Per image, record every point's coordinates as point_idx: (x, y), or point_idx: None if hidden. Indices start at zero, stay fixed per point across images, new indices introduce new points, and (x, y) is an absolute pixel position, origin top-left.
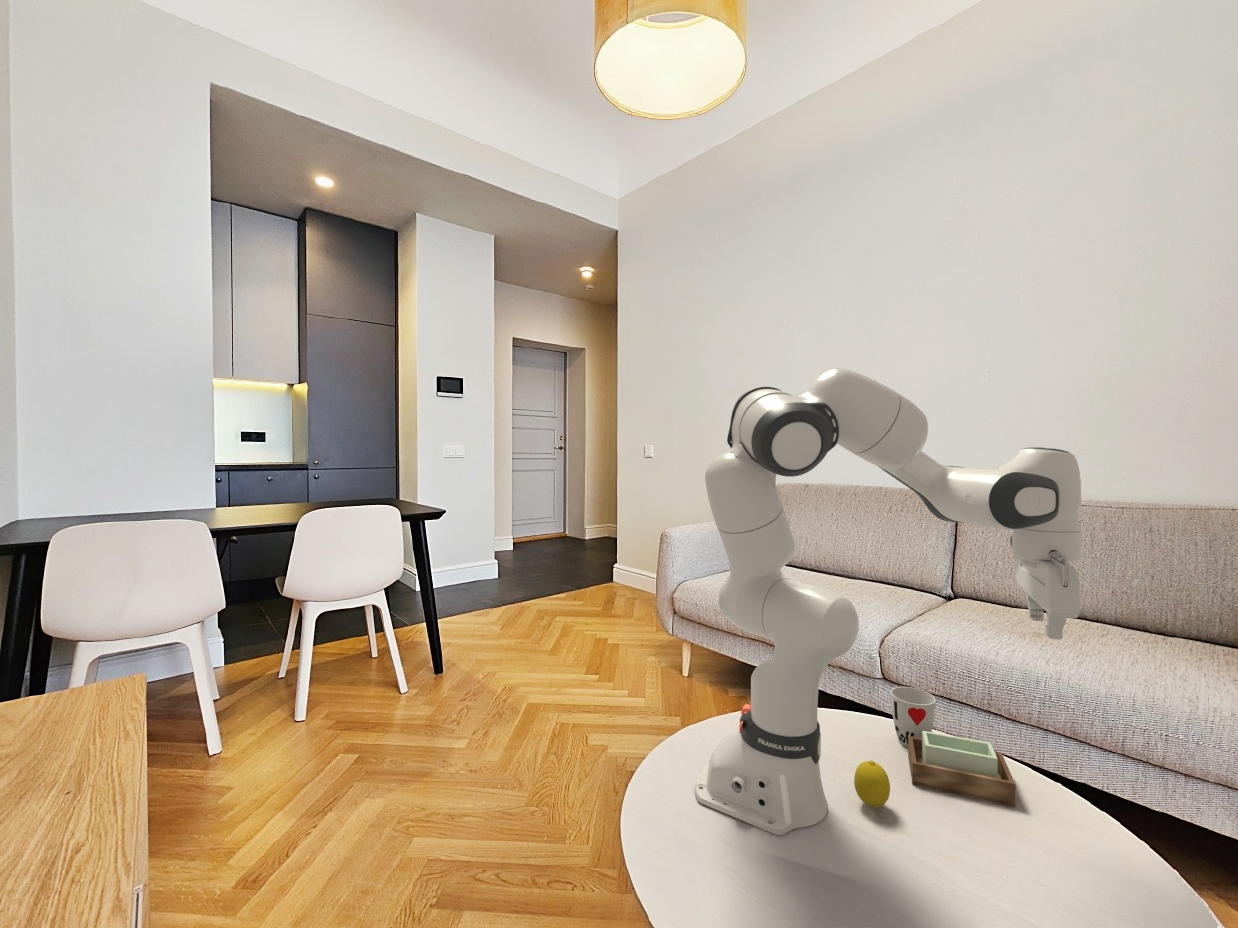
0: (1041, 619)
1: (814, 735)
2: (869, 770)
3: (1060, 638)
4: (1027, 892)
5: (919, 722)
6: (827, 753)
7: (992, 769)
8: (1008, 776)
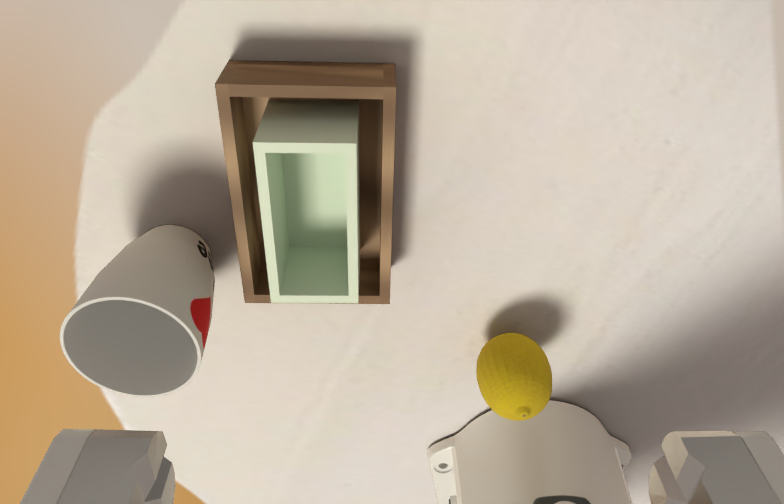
0: (158, 448)
1: None
2: (540, 409)
3: (763, 439)
4: (709, 115)
5: (206, 299)
6: (334, 404)
7: (357, 139)
8: (358, 96)
